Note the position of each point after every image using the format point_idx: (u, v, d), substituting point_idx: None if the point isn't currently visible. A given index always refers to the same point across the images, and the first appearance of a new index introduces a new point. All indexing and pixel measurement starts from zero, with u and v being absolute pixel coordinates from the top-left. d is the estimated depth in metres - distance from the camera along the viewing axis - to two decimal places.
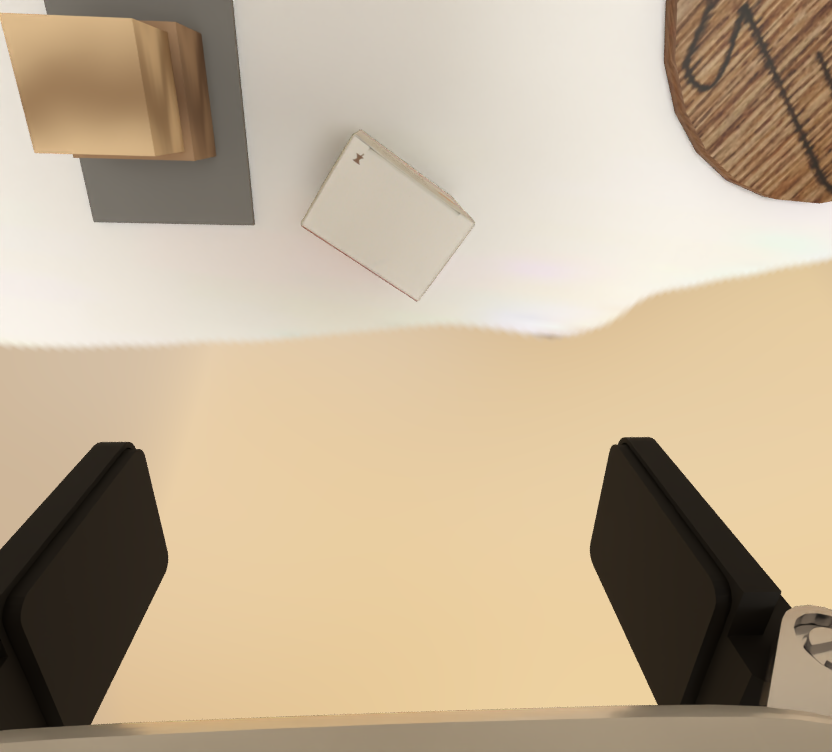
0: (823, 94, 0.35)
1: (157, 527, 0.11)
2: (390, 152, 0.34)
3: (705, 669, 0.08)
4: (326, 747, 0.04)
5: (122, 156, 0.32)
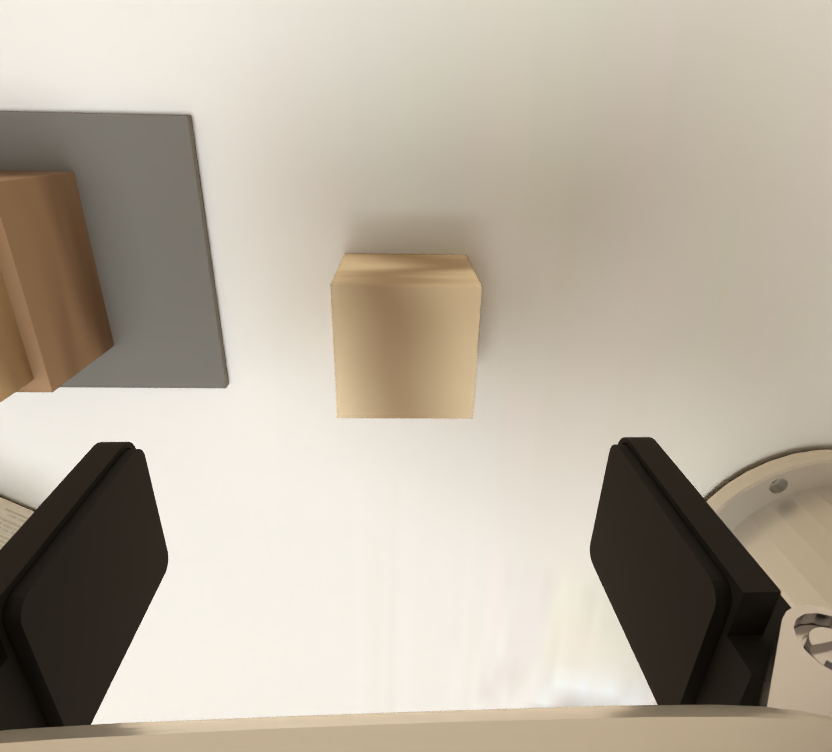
0: None
1: (157, 527, 0.11)
2: None
3: (705, 670, 0.08)
4: (326, 747, 0.04)
5: None
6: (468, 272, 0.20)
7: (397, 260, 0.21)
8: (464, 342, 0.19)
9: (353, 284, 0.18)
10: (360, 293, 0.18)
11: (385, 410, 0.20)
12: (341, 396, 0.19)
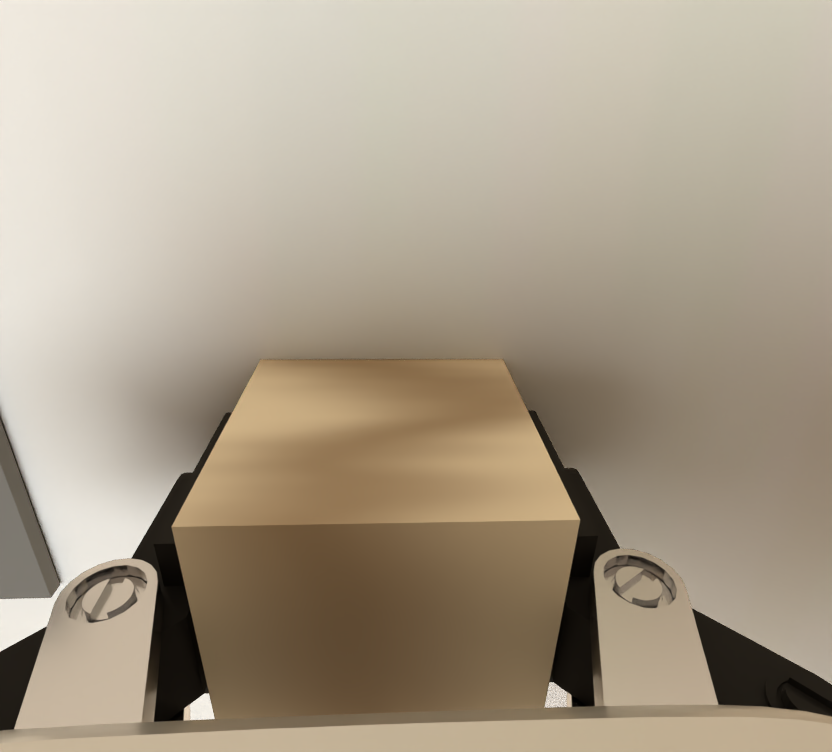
0: None
1: None
2: None
3: None
4: (326, 747, 0.04)
5: None
6: (526, 438, 0.08)
7: (364, 386, 0.10)
8: (526, 631, 0.08)
9: (235, 521, 0.07)
10: (255, 543, 0.07)
11: None
12: None
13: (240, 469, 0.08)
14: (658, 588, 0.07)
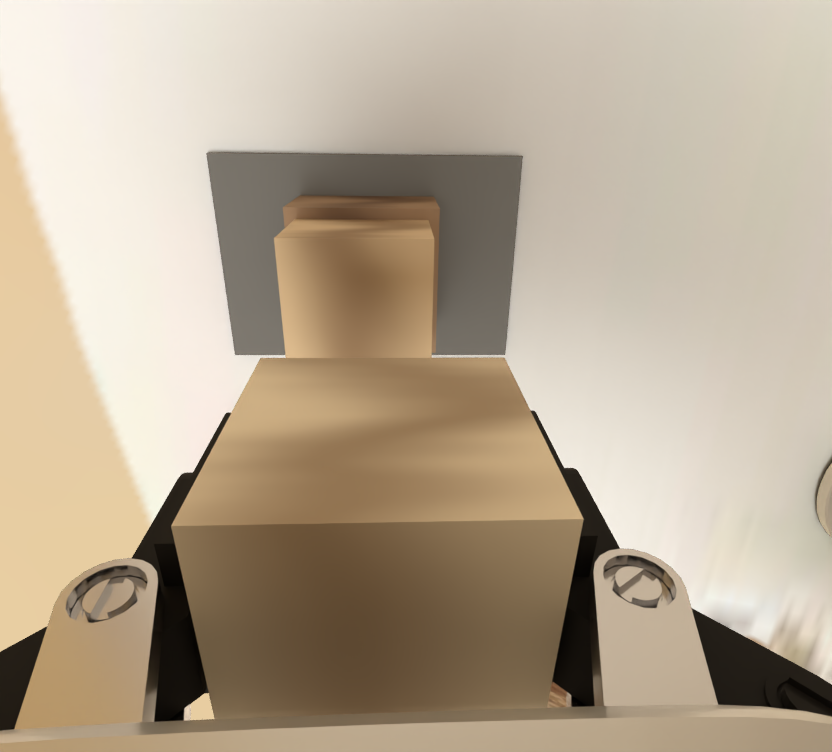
0: None
1: None
2: None
3: None
4: (325, 747, 0.04)
5: None
6: (528, 437, 0.08)
7: (365, 385, 0.10)
8: (528, 631, 0.07)
9: (235, 521, 0.06)
10: (255, 543, 0.07)
11: None
12: None
13: (240, 468, 0.07)
14: (657, 588, 0.07)
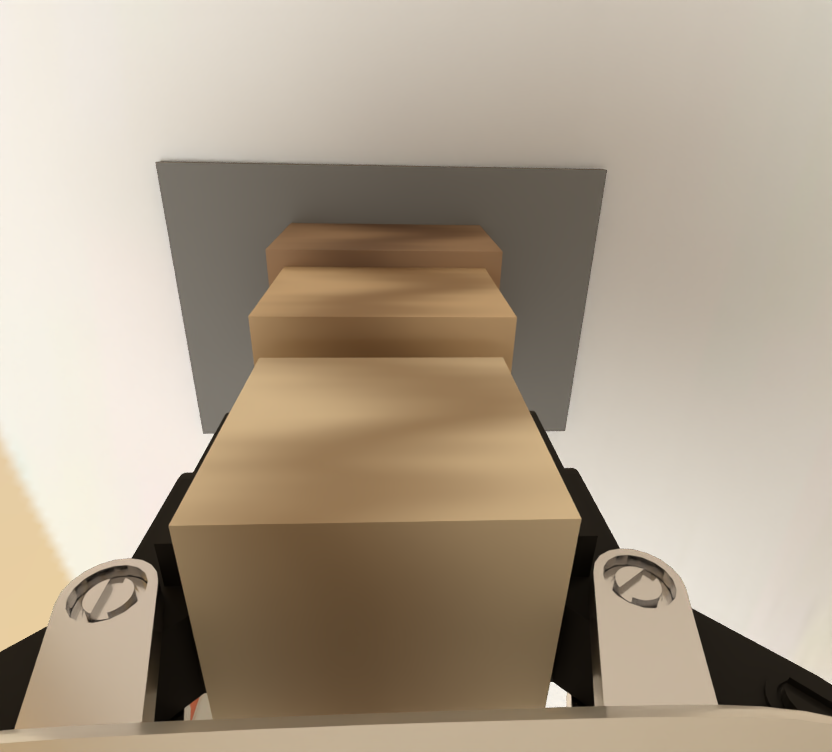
0: None
1: None
2: None
3: None
4: (326, 747, 0.04)
5: None
6: (526, 436, 0.08)
7: (363, 385, 0.10)
8: (526, 631, 0.07)
9: (232, 520, 0.06)
10: (252, 542, 0.07)
11: None
12: None
13: (238, 468, 0.07)
14: (658, 587, 0.07)
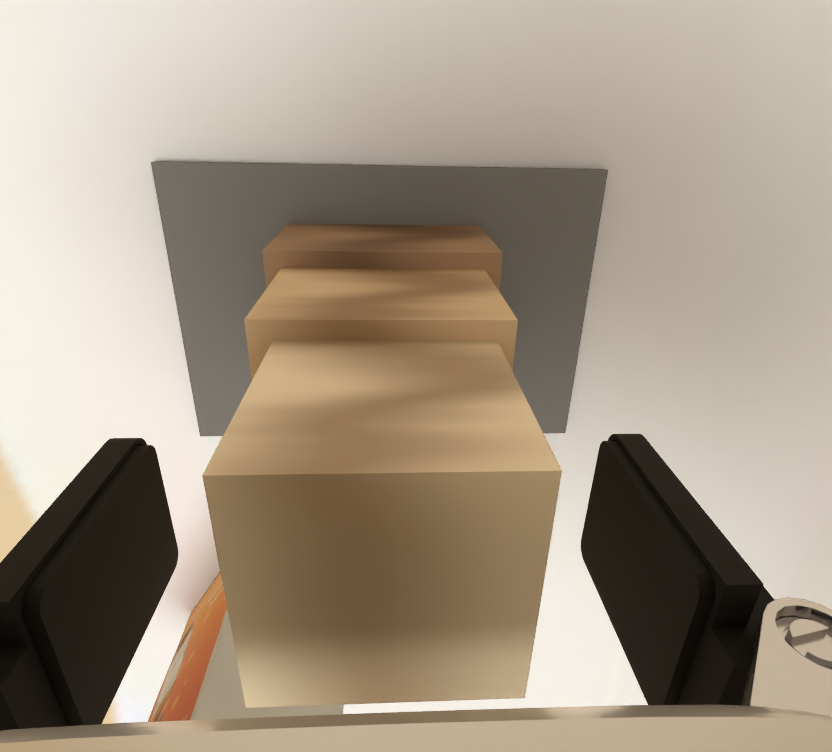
0: None
1: (167, 522, 0.11)
2: None
3: (690, 662, 0.08)
4: (326, 747, 0.04)
5: None
6: (516, 406, 0.09)
7: (369, 363, 0.11)
8: (515, 575, 0.08)
9: (258, 472, 0.07)
10: (275, 490, 0.08)
11: (345, 693, 0.09)
12: (250, 674, 0.09)
13: (260, 430, 0.08)
14: None
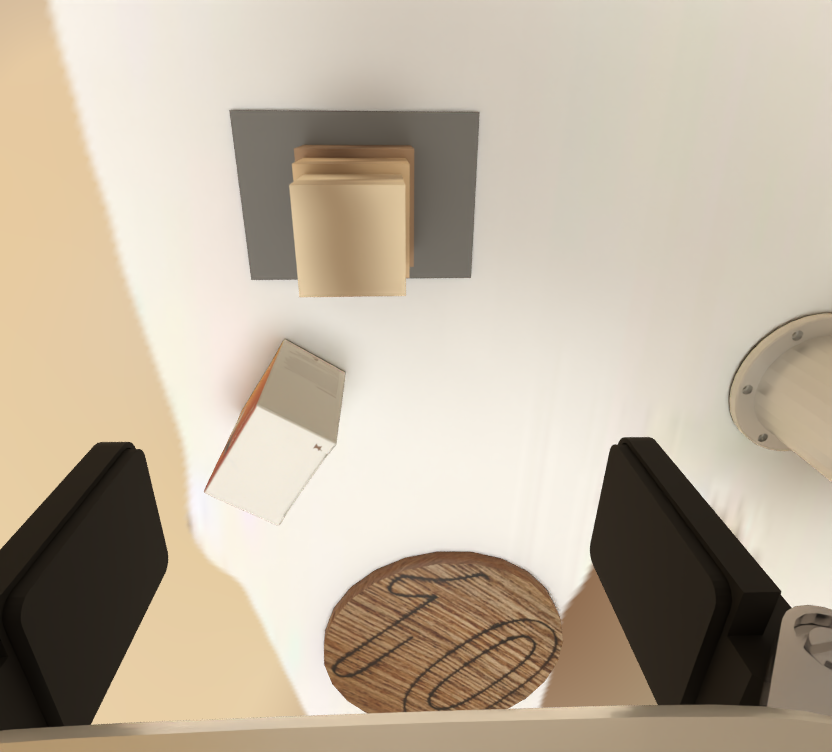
0: (389, 646, 0.55)
1: (157, 527, 0.11)
2: None
3: (705, 670, 0.08)
4: (326, 747, 0.04)
5: None
6: (398, 180, 0.25)
7: (345, 176, 0.27)
8: (395, 231, 0.24)
9: (306, 185, 0.23)
10: (312, 191, 0.23)
11: (337, 290, 0.25)
12: (301, 278, 0.25)
13: (305, 182, 0.24)
14: None
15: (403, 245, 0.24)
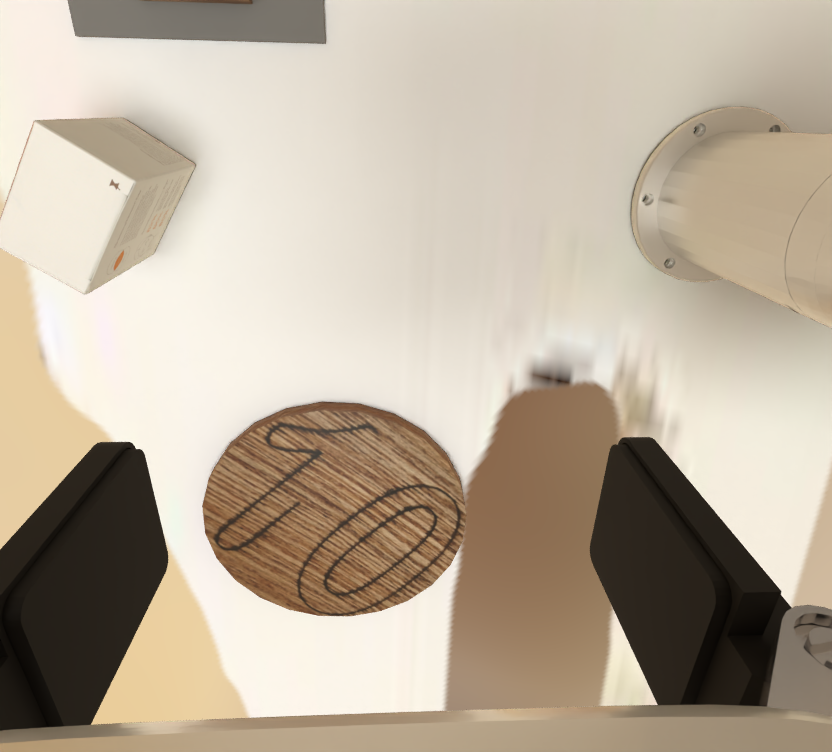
0: (275, 513, 0.50)
1: (157, 527, 0.11)
2: (171, 197, 0.37)
3: (705, 669, 0.08)
4: (326, 747, 0.04)
5: None
6: None
7: None
8: None
9: None
10: None
11: None
12: None
13: None
14: None
15: None
